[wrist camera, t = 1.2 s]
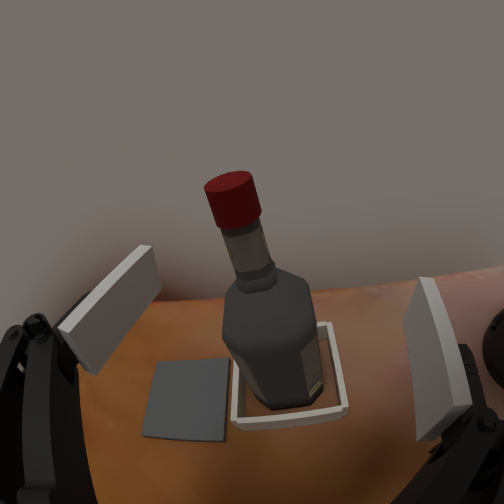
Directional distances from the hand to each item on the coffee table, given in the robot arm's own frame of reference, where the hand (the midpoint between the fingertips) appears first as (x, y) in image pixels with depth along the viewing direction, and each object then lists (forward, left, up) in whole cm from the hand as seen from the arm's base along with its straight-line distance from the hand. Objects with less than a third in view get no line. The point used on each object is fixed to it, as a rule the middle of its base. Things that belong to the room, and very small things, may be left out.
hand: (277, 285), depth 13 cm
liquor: (+3, -10, -28) cm, 30 cm away
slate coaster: (+18, -8, -28) cm, 34 cm away
